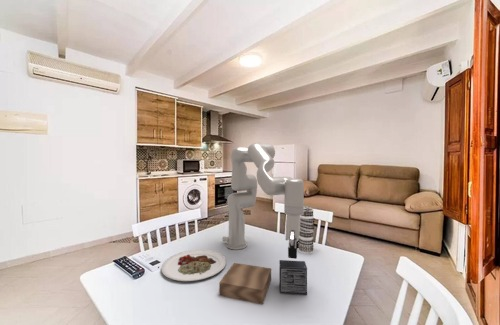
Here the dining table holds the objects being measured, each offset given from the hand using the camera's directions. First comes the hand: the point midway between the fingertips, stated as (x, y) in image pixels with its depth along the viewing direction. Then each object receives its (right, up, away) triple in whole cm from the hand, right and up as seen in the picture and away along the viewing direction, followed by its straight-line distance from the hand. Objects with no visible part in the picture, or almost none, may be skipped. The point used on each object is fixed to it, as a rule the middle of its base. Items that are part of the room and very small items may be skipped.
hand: (293, 252), depth 86 cm
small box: (0, -15, 0) cm, 15 cm away
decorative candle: (+14, -15, +37) cm, 42 cm away
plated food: (-44, -15, +18) cm, 50 cm away
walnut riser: (-19, -15, +2) cm, 24 cm away
